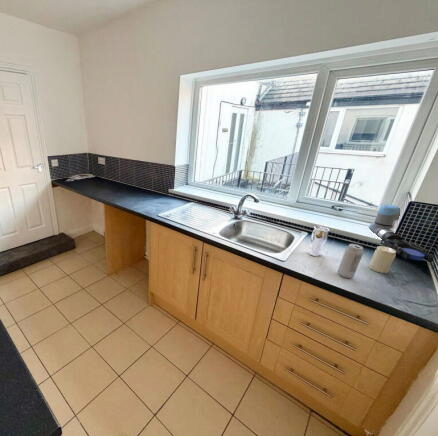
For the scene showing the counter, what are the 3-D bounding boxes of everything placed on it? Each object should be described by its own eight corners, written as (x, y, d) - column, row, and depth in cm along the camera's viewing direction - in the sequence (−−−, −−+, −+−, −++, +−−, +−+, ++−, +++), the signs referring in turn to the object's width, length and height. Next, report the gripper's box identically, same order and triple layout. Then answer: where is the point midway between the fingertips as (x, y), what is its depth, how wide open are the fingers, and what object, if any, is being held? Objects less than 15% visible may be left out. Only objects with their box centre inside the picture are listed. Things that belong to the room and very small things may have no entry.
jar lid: (409, 259, 112) (411, 255, 112) (395, 251, 120) (396, 247, 119) (428, 260, 112) (430, 256, 111) (412, 252, 119) (414, 248, 118)
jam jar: (380, 265, 120) (388, 246, 117) (393, 273, 114) (401, 253, 110) (365, 264, 121) (372, 245, 117) (376, 272, 114) (384, 252, 110)
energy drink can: (343, 270, 115) (354, 242, 110) (356, 277, 110) (368, 248, 104) (333, 271, 114) (344, 244, 108) (346, 279, 109) (358, 250, 103)
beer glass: (309, 248, 135) (316, 224, 130) (323, 254, 130) (332, 228, 125) (304, 253, 131) (311, 228, 125) (319, 258, 126) (327, 232, 120)
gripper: (411, 247, 130) (445, 269, 109) (364, 241, 135) (388, 261, 115) (417, 234, 127) (452, 254, 107) (369, 229, 133) (394, 247, 112)
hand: (419, 258), depth 111 cm, fingers closed on jar lid, 8 cm apart
